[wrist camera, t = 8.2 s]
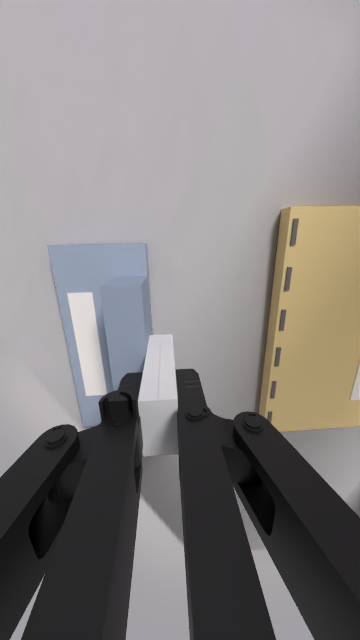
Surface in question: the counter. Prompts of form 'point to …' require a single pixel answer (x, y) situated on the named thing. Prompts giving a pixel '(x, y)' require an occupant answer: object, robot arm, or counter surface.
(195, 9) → the counter surface
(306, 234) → the tan notebook
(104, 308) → the stub
